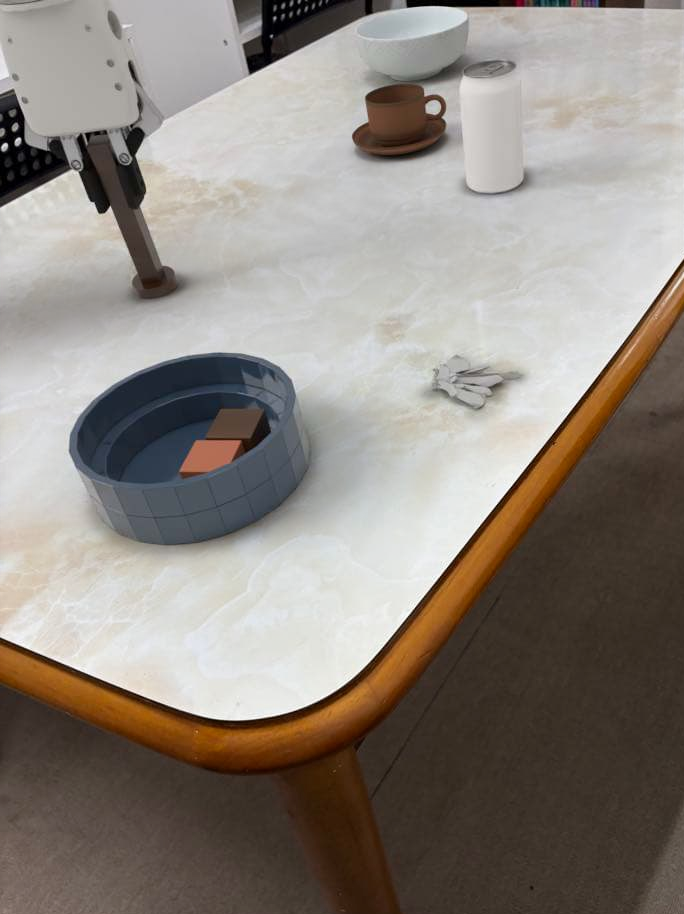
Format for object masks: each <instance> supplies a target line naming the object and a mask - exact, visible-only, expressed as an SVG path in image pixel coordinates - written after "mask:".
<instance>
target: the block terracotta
mask: <svg viewBox="0 0 684 914" xmlns="http://www.w3.org/2000/svg"><path fill="white" fill-rule="evenodd" d="M244 454H246V453H245V450H244V447H243V444H242V441H241V440H196V441H195V443H194V445H193V447H192V449H191V450H190V452H189V454H188V456H187V458H186V459H185V461H184V463H183V465H182V467H181V469H180V470H179V473H180V475H181V478H182V479H185V478H189V477H193V476H197V475H201V474H205V473H207V472H210V471H212V470H214V469H217V468H219V467H221V466H224V465H226V464H228V463H231V462H233V461H235V460H236V459H238V458H239V457H241V456H242V455H244Z"/></svg>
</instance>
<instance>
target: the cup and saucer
mask: <svg viewBox="0 0 684 914" xmlns="http://www.w3.org/2000/svg"><path fill="white" fill-rule="evenodd" d="M364 101H365V107H366V113H367V114H366V115H367V120H368V121H367V122H364V123H363V124H361V125H360V126H358V127H357V128H355V130H354V131H353V132H352V135H351V139H352V143H353V144H354V145H355V146H356V147H357V148H358V149H360V150H361V151H363V152H366V153H368V154H372V155H380V156H396V155H404V154H409V153H413V152H414V153H415V152H417V151H419V150H423V149H425V148H427V147H429V146H432V145H433V144H435V143H436V142H437V141H438V140H439V139H441V137H443V135H444V133H446V129H447V122H446V120H445V119H444V118H443V117H444V115H445V113H446V111H447V103H446V100H445V99H444V97H443V96H442V95H440V94H435V93H433V94H428V95H426V96H425V88H424V87H423V86H421V85H418V84H415V83H396V84H389V85H384V86H382V87H378V88H375V89H373V90H371V91H369V92H368V93H367V94H366V95H365V96H364ZM431 101H436V102H439V104H440V110H439V112H438V113H436V114H433V113H428V112H427V108H426V107H427V106H426V105H427V104H428V103H429V102H431Z"/></svg>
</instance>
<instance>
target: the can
mask: <svg viewBox="0 0 684 914" xmlns="http://www.w3.org/2000/svg"><path fill="white" fill-rule="evenodd" d="M461 75H462V78H461V81H460V84H459V105H460V106H459V107H460V117H461V118H460V119H461V131H462V143H463V144H462V147H463V157H464V158H463V159H464V171H465V172H464V173H465V180H466V181H465V182H466V187H468V188H469V189H470V190H471V191H473V192H474V193H476V194H483V195H495V194H496V195H497V194H503V193H506V192H509V191H512V190H514V189H517V188H518V187H519V186H520V185H521V183H522V182H523V181H524V177H525V176H524V174H525V173H524V135H523V132H524V131H523V104H522V102H523V101H522V82H521V81H522V80H521V77H520V75H519V73H518V71H517V64H516V62H515V61H513V60H510V59H506V58H505V59H504V58H495V59H494V58H492V59H484V60H480V61H475V62H473V63H470V64H467V65H466V66H465V67H463V68H462V70H461Z"/></svg>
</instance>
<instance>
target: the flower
mask: <svg viewBox="0 0 684 914" xmlns="http://www.w3.org/2000/svg"><path fill="white" fill-rule="evenodd" d="M489 368H491V366H490V365H487V366H483V367H479V368H475V369H472V370H470V362H469V361H468V360H467V359H466V358H464V357H462V356H460V355H458V354H454V355H453V356H452V357H451V358H450V359H449V360H448V361H447V362H445V363H444V364H442V363H441V361H438V362H437V364H436V366H435V367H434V368H431V371H432V372H433V373H432V374H433V377H432V378H431V380H430V386H431V389H430V390H435V389H436V387H437V388H438V389H439V390H440V389H442V390H444V391H446V392H447V393H448V395H449V396H450V397H451V398H456V399H458V400H461V401H463V402H464V403H466V404H468V405H470V406H471V407H473V408H475V409H478V408H480V407H482V406H484V403H485V399H483V397H482V396H481V395H480V394H479V393H483V394H484V397H489V396H492V395H493V393H492V391H491V389H490V388H489V387H492V386H494V385H496V384H499V383H500V382H502V381H504V380H505V381H507V380H508V381H509V380H513V379H518V378H521V377H523V376H524V374H522V372H518V371H507V372H505V373H502V374H500V371H494V370H491V371H485V370H487V369H489ZM469 370H470V371H469ZM465 371H467V372H465ZM483 371H485V372H483ZM459 372H465V373H462V374H461V373H459ZM480 372H481V373H480ZM473 384H474V385H473ZM468 390H470V391H468Z"/></svg>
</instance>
